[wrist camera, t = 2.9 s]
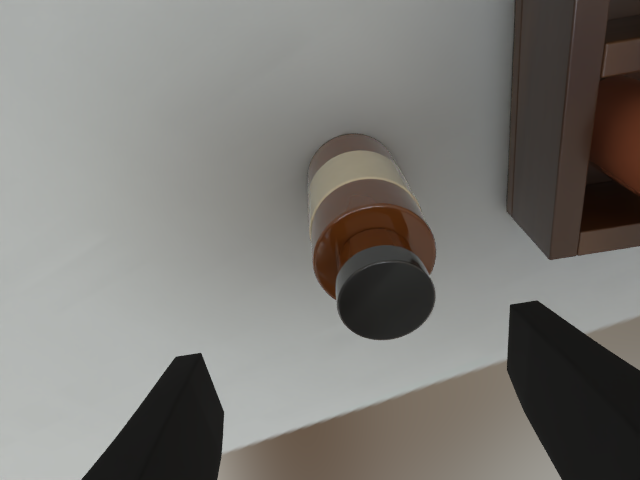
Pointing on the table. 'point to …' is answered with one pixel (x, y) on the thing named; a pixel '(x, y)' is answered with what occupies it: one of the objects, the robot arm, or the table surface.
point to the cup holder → (568, 124)
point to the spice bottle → (369, 238)
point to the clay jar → (618, 131)
